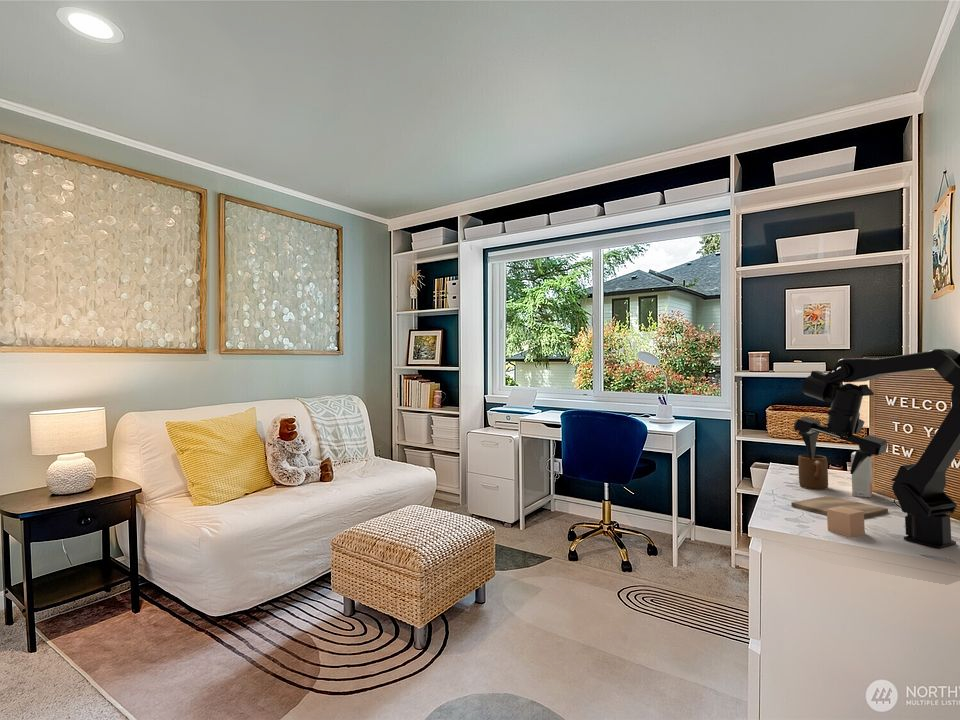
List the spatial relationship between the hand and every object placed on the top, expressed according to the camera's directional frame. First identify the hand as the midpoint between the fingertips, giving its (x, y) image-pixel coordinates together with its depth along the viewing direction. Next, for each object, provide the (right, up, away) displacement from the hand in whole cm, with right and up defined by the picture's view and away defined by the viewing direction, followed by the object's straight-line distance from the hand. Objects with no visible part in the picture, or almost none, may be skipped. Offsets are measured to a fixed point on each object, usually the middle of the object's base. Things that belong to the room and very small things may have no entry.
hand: (831, 466), depth 129 cm
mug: (+14, -13, +27) cm, 32 cm away
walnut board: (+5, -12, +5) cm, 14 cm away
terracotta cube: (-5, -12, -12) cm, 18 cm away
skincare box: (+21, -12, +18) cm, 30 cm away
